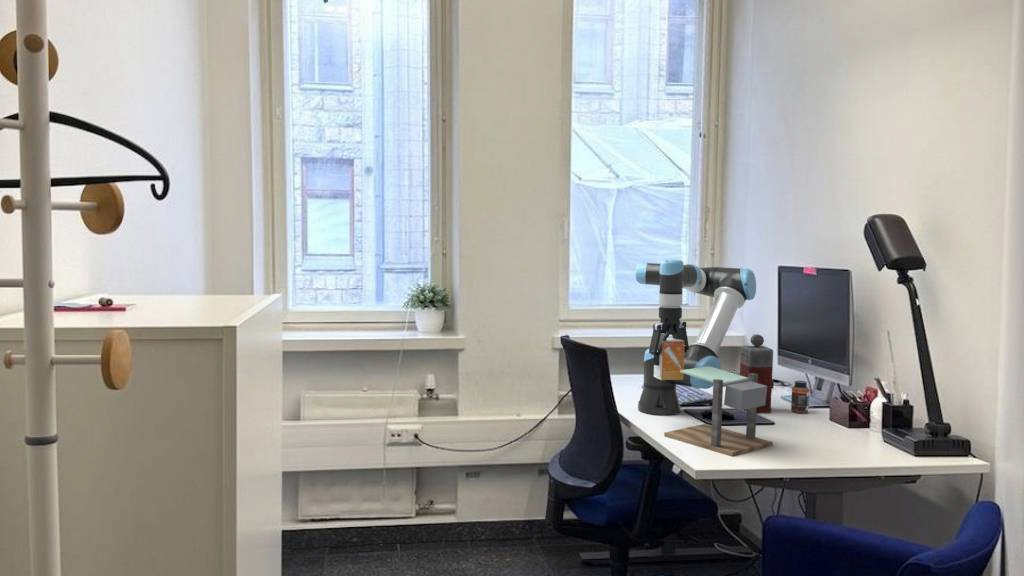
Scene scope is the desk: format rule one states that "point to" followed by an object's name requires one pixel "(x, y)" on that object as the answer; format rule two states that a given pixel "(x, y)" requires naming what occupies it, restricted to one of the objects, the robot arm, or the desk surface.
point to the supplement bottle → (800, 397)
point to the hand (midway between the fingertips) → (668, 373)
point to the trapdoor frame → (719, 437)
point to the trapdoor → (733, 387)
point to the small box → (672, 359)
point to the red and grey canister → (758, 367)
